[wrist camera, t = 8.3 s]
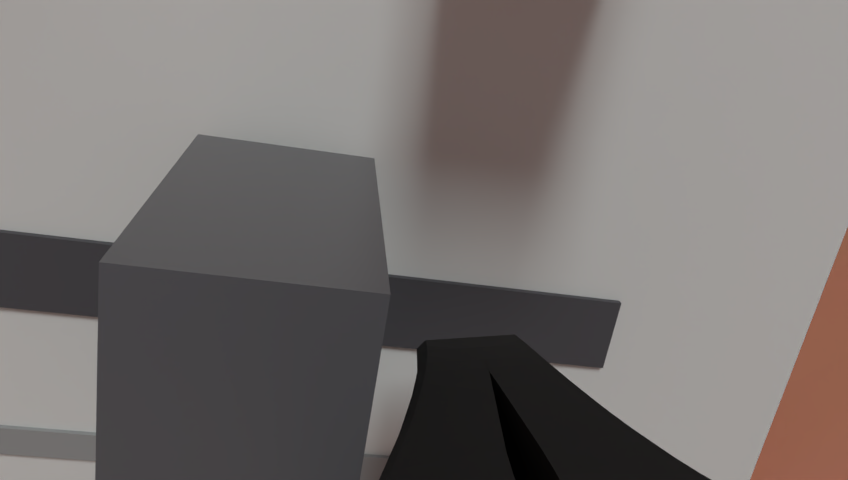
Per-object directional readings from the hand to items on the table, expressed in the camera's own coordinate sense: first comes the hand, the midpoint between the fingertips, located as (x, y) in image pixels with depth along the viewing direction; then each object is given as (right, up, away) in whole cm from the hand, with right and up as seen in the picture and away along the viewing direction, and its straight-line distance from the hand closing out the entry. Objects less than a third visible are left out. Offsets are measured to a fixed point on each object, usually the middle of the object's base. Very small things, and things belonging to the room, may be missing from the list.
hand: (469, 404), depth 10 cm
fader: (-3, +1, +1) cm, 3 cm away
